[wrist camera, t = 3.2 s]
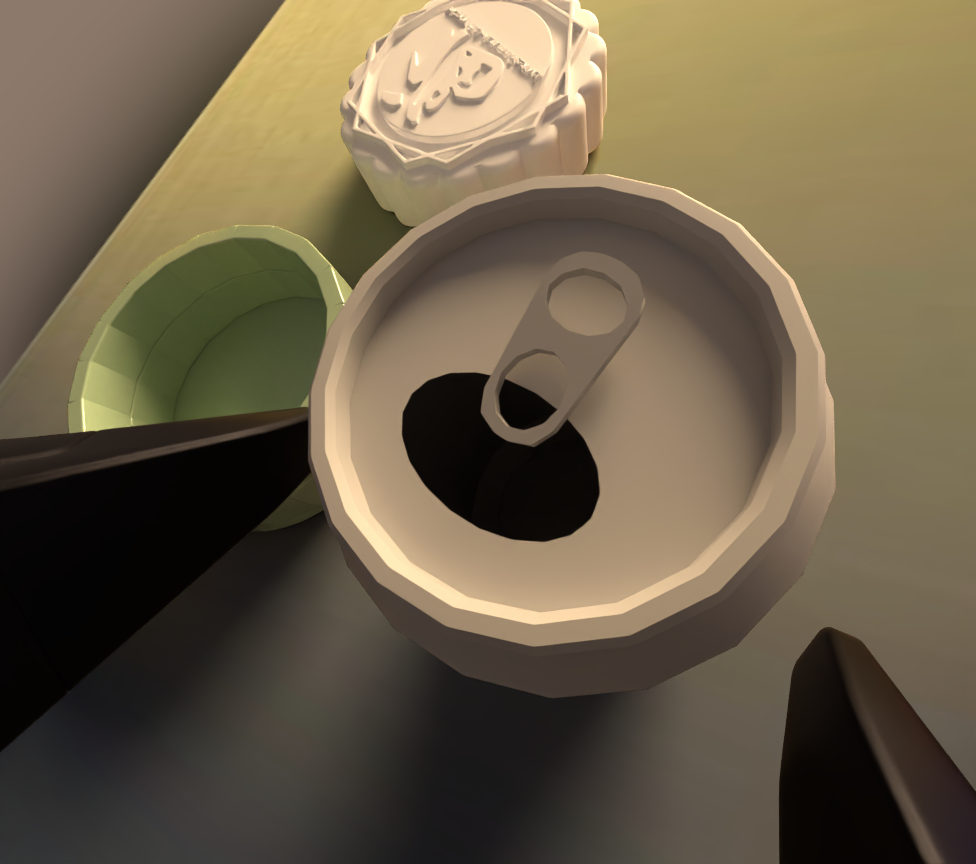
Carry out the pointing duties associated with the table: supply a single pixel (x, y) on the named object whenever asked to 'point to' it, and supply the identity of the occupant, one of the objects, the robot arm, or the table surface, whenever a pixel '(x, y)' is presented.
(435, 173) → the mooncake
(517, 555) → the can
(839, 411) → the table surface
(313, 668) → the table surface
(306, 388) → the pot
